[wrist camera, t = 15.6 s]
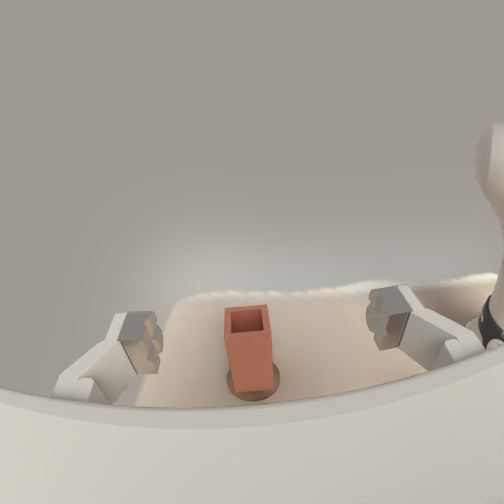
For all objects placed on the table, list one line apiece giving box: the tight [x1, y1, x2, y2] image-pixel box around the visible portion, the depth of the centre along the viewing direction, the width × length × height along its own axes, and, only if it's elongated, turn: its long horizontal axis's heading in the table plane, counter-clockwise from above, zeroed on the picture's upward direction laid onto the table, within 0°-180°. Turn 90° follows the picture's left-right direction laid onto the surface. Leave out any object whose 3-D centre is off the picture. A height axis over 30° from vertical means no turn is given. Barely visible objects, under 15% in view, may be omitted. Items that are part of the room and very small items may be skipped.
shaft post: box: [227, 364, 279, 401], centre depth 43 cm, size 8×8×8 cm
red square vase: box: [224, 305, 274, 392], centre depth 41 cm, size 6×6×12 cm
